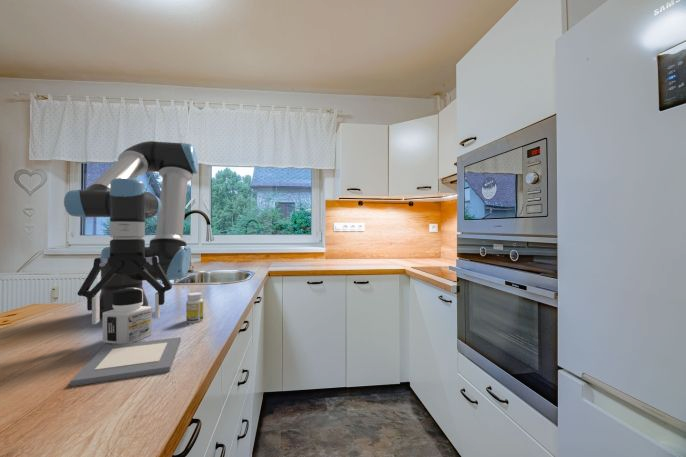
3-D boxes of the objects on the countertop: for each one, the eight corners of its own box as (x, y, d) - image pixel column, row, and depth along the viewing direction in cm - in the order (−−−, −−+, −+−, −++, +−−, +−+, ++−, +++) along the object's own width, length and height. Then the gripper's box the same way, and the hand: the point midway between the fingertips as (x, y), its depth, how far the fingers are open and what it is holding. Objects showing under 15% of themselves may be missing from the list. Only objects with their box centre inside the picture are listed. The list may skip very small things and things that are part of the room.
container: (127, 345, 77) (127, 292, 77) (101, 343, 78) (101, 291, 78) (152, 334, 84) (152, 286, 84) (128, 332, 86) (128, 285, 86)
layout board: (104, 350, 74) (104, 345, 74) (180, 341, 80) (180, 336, 80) (70, 386, 57) (70, 379, 57) (169, 371, 63) (169, 365, 63)
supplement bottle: (198, 317, 100) (198, 291, 100) (206, 320, 98) (206, 293, 98) (183, 321, 97) (183, 294, 96) (191, 323, 94) (191, 296, 94)
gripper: (60, 239, 73) (60, 329, 73) (179, 238, 82) (179, 318, 82) (74, 238, 80) (74, 321, 80) (182, 237, 89) (182, 311, 89)
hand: (127, 320), depth 81 cm, fingers open, 13 cm apart
